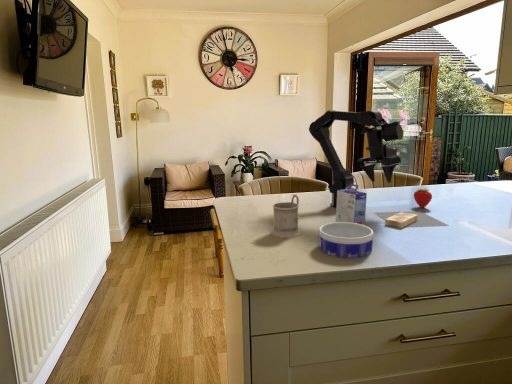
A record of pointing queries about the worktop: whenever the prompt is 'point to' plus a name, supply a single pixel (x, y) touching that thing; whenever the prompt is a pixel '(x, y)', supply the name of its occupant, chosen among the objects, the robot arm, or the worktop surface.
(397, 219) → the board
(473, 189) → the worktop surface
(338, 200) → the ink cartridge box
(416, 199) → the strawberry
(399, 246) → the worktop surface
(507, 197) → the worktop surface
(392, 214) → the mat
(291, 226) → the mug
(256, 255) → the worktop surface
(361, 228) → the dog bowl
